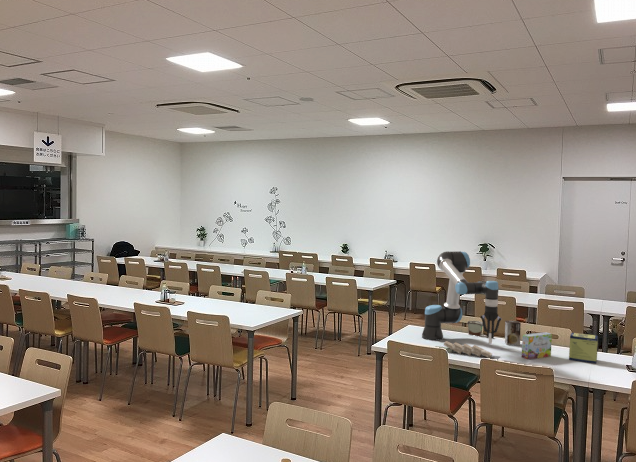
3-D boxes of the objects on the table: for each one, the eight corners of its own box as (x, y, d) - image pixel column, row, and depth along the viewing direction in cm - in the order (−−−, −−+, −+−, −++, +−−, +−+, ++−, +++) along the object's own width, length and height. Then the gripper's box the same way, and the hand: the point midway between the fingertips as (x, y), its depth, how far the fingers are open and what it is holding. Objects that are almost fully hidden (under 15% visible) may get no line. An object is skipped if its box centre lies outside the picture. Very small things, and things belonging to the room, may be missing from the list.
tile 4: (460, 353, 337) (443, 345, 343) (462, 352, 342) (445, 343, 347) (461, 351, 337) (444, 342, 342) (463, 349, 341) (446, 340, 347)
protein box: (596, 363, 323) (597, 338, 322) (568, 360, 330) (569, 335, 330) (597, 359, 332) (598, 335, 331) (569, 356, 339) (570, 332, 339)
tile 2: (479, 356, 331) (462, 347, 337) (481, 355, 336) (464, 346, 341) (481, 354, 331) (463, 345, 336) (482, 352, 335) (465, 343, 341)
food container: (486, 335, 393) (486, 322, 392) (482, 337, 388) (482, 323, 388) (470, 333, 401) (471, 320, 401) (466, 334, 397) (467, 321, 396)
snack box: (528, 360, 328) (529, 336, 327) (521, 358, 333) (521, 334, 332) (551, 356, 338) (552, 333, 337) (544, 354, 342) (545, 331, 342)
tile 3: (470, 355, 334) (452, 346, 340) (471, 353, 339) (454, 344, 344) (471, 352, 334) (453, 343, 339) (473, 350, 338) (455, 342, 344)
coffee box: (517, 343, 371) (518, 320, 370) (520, 345, 364) (521, 322, 364) (504, 343, 372) (505, 320, 371) (506, 345, 365) (507, 322, 365)
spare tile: (451, 352, 340) (433, 350, 346) (454, 350, 344) (436, 349, 350) (451, 349, 340) (433, 347, 346) (453, 347, 344) (435, 346, 350)
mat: (447, 353, 339) (447, 353, 339) (451, 350, 348) (451, 349, 348) (497, 361, 323) (497, 360, 323) (500, 357, 333) (500, 356, 333)
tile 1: (489, 358, 328) (471, 349, 334) (491, 356, 333) (473, 347, 338) (490, 355, 328) (472, 346, 334) (492, 353, 332) (474, 344, 338)
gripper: (479, 305, 330) (478, 343, 330) (501, 307, 323) (499, 345, 324) (482, 303, 336) (480, 340, 337) (503, 306, 330) (502, 343, 331)
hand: (490, 343), depth 331 cm, fingers closed
